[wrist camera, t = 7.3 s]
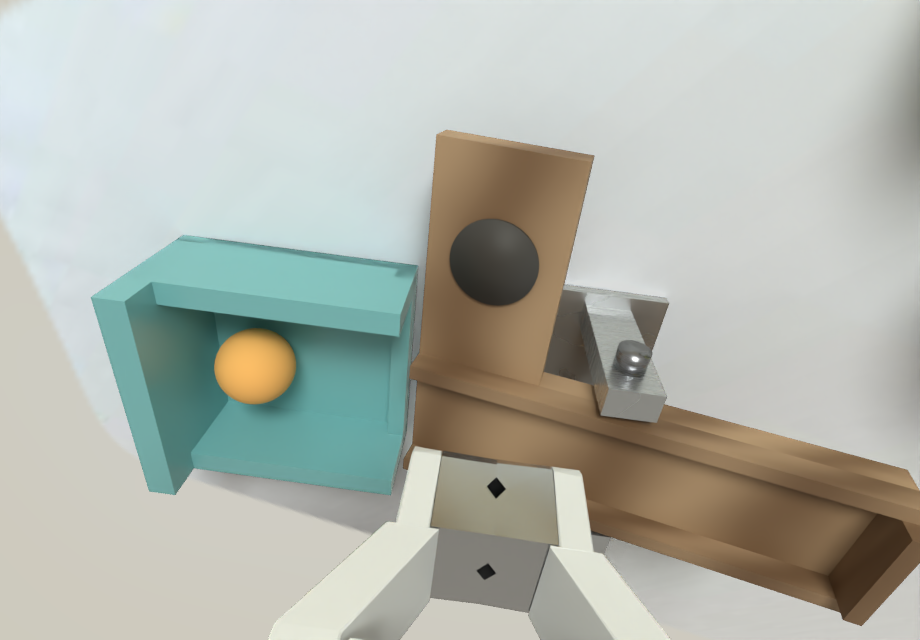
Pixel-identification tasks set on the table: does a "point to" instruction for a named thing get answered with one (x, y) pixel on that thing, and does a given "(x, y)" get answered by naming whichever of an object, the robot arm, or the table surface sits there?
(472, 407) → the lever
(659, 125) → the table surface
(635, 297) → the fulcrum
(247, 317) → the teal tray
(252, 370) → the ball
